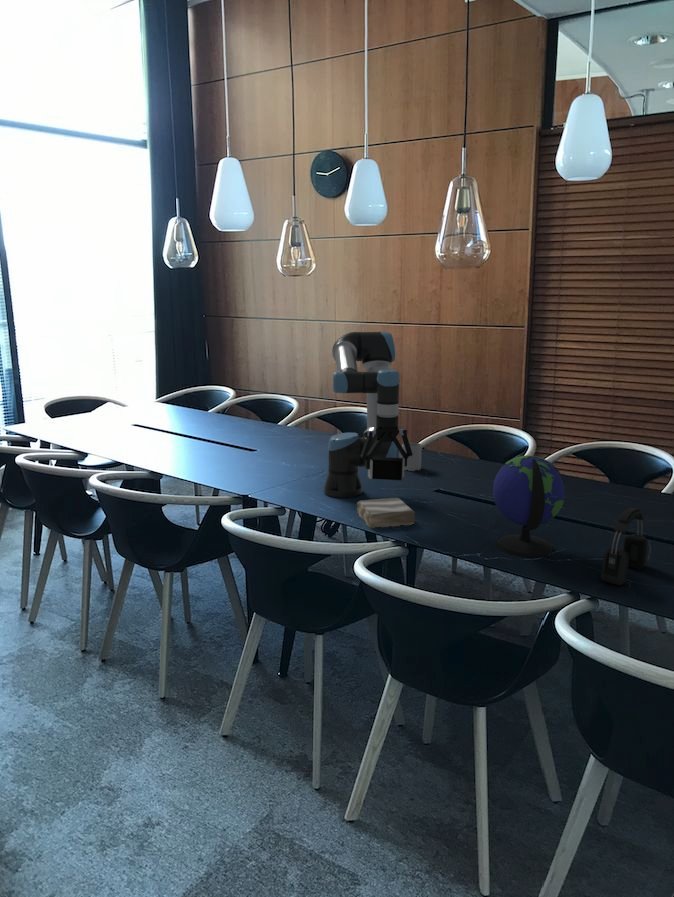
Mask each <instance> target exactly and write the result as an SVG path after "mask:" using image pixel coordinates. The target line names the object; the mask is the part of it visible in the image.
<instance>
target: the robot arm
mask: <svg viewBox="0 0 674 897" xmlns="http://www.w3.org/2000/svg"><path fill="white" fill-rule="evenodd" d="M331 349H332V351H331V352H332V357H333V360H334V361H335V366H336V371H335V372H333V374H332V390H333V391H332V392H334V393H335V394H343V395H345V394H366V426H367V427H366V430H364V432H363V436H359V434H358V433H357V432H343V433H342V432H341V433H338V434H334V435H332V436H331V437H329V440H328V448H327V451H328V468H327V470H328V471H327V472H328V474H327V476H326V480H325V483H324V485H323V493H324V494H325V495H326V496H329V497H332V498H333V497H334V498H343V499H346V498H347V497H348V498H355V497H358V496H361V495H362V493H363V485H362V482H361V478H360V476H359V468H365V469H366V470H367V478H368V479H369V480H373V479H372V469H373V461H372V459H373V457H388V458H397V450H398V451H400V453H401V455H402V456H403V457H399V458H403V466H402V478H404V477H405V470H404V467H406V466H407V459H408V457H409V456H412V455H413V454H412V451H411V447H410V444H409V442H410V441H409V438H408V430H407V429H405V428H404V427H402V428H400V429H399V416H398V415H399V413H400V412H399V411H400V410H399V408H400V400H399V398H400V382H401V380H400V372H399V370H397V369H391V366H392V362H395V361H396V347H395V341H394V338H393V336H392V333H391V332H387V331H350V332H348V333H345V334H343V335H342V336H340V337H339V338H337V340H336V341H335V342H334V344H333V346H332V348H331ZM357 362H361V366H362V367H363V368H364V369H365V371H359V370H358V364H357ZM389 368H390V369H389ZM399 434H400V436H401V440H402V442H403V443H404V446H405V449H406V452H407V453H406V452H405V451H404V449H403V448H402V445H401V443H400V440H398V438H397V436H399Z"/></svg>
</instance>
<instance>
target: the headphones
mask: <svg viewBox="0 0 674 897" xmlns="http://www.w3.org/2000/svg"><path fill="white" fill-rule="evenodd" d="M641 511H642V510H640V509H639V508H634V507H628V508H626V509H625V510H624V511H623V512H622V513H621V514H620V515H619V517H618V519H617V520H616V522H615V524H614V527H613V530H614V531H615V534H614V537H613V540H612V544H611V548H608V549H607V550H606V551H605V553H604V554H603V560H602V566H601V572H600V578H601V580H602V581H603V582H606V583H609V584H612V585H616V586H623V585H624V584H626V582H627V579H628V574H629V573H628V572H629V568H631V567H632V569H635V568H636V569H635V570H642V569H644V568H645V566H646V564H647V562H648V561H647V560H648V550H649V541H648V539H647V538H646V536H645V535H644V534H643V529H644V528H643V527H644V525H643V521H644V519H645V515H644V513H642V512H641ZM634 520H636V522H637V531H636V534H635V533H633V534H628V535H626V536H625V538H624V540H623V548H622V550H621V549H618V545H619V541H620V538H621V535H622V534H626V533H627V530H628V528H629V526H630V524H631V523H632V522H633V521H634ZM617 535H618V536H617ZM616 538H617V539H616ZM615 542H616V545H615ZM614 547H615V548H614ZM628 566H629V567H628Z"/></svg>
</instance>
